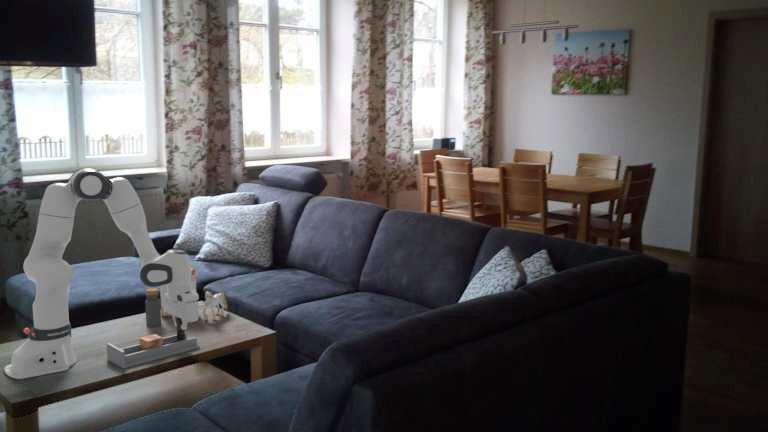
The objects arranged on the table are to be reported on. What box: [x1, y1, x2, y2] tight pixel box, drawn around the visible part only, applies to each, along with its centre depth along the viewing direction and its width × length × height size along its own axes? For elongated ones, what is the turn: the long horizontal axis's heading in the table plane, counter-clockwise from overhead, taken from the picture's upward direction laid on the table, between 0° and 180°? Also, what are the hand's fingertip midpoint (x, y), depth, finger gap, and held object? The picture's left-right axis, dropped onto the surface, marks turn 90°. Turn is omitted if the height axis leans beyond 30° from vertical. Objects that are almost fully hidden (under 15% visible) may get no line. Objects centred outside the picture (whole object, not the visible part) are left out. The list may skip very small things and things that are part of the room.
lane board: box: [106, 332, 201, 369], centre depth 257 cm, size 30×12×6 cm, turn 136°
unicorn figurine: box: [202, 291, 228, 322], centre depth 297 cm, size 7×20×13 cm, turn 177°
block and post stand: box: [139, 318, 186, 351], centre depth 259 cm, size 16×6×10 cm, turn 136°
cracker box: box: [159, 267, 197, 318], centre depth 301 cm, size 14×6×21 cm, turn 84°
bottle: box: [144, 287, 162, 328], centre depth 289 cm, size 6×6×15 cm
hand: (180, 327), depth 264 cm, fingers closed on block and post stand, 3 cm apart
